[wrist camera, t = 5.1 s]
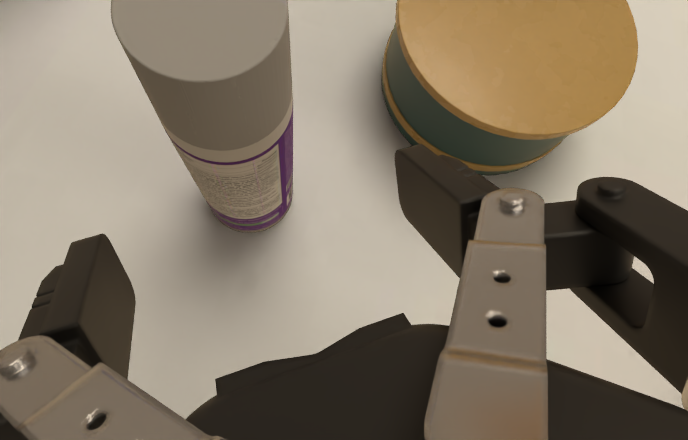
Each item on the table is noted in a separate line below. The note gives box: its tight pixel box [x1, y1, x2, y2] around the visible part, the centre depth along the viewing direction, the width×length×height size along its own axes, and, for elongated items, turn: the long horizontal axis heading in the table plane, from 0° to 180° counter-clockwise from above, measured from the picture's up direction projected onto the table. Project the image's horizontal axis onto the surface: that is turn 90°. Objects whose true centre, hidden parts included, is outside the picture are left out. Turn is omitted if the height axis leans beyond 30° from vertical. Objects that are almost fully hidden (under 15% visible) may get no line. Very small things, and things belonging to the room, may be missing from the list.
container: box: [111, 0, 293, 232], centre depth 19 cm, size 5×5×15 cm
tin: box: [382, 0, 638, 175], centre depth 27 cm, size 13×13×6 cm
